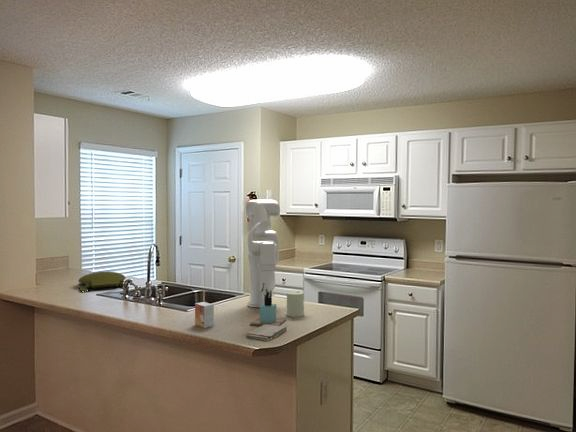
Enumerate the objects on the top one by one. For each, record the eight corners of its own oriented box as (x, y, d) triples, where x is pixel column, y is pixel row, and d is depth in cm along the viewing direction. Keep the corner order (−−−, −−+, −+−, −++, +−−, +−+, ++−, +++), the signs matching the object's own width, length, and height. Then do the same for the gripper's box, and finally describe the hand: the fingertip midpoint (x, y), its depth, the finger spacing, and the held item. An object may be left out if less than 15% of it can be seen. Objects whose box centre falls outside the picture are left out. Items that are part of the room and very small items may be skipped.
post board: (259, 318, 230) (259, 303, 230) (285, 320, 226) (285, 305, 226) (249, 325, 218) (249, 310, 217) (277, 327, 214) (277, 312, 213)
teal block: (264, 318, 226) (264, 303, 225) (276, 319, 224) (276, 304, 224) (259, 322, 220) (259, 306, 220) (272, 323, 218) (271, 307, 218)
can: (307, 313, 240) (307, 291, 239) (298, 317, 232) (298, 294, 231) (292, 311, 244) (291, 289, 244) (283, 315, 236) (283, 292, 236)
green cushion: (130, 289, 310) (130, 274, 309) (80, 293, 295) (80, 278, 295) (122, 281, 340) (121, 267, 340) (76, 284, 326) (76, 271, 325)
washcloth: (244, 339, 198) (244, 332, 198) (264, 328, 215) (264, 322, 214) (268, 342, 193) (268, 335, 193) (287, 331, 209) (287, 325, 209)
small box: (194, 325, 219) (194, 303, 219) (204, 322, 223) (204, 301, 223) (204, 328, 214) (204, 306, 213) (214, 326, 217) (213, 304, 217)
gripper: (265, 265, 229) (266, 301, 230) (255, 269, 215) (255, 308, 215) (280, 265, 227) (280, 302, 227) (269, 270, 212) (270, 309, 213)
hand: (268, 305), depth 221 cm, fingers closed
